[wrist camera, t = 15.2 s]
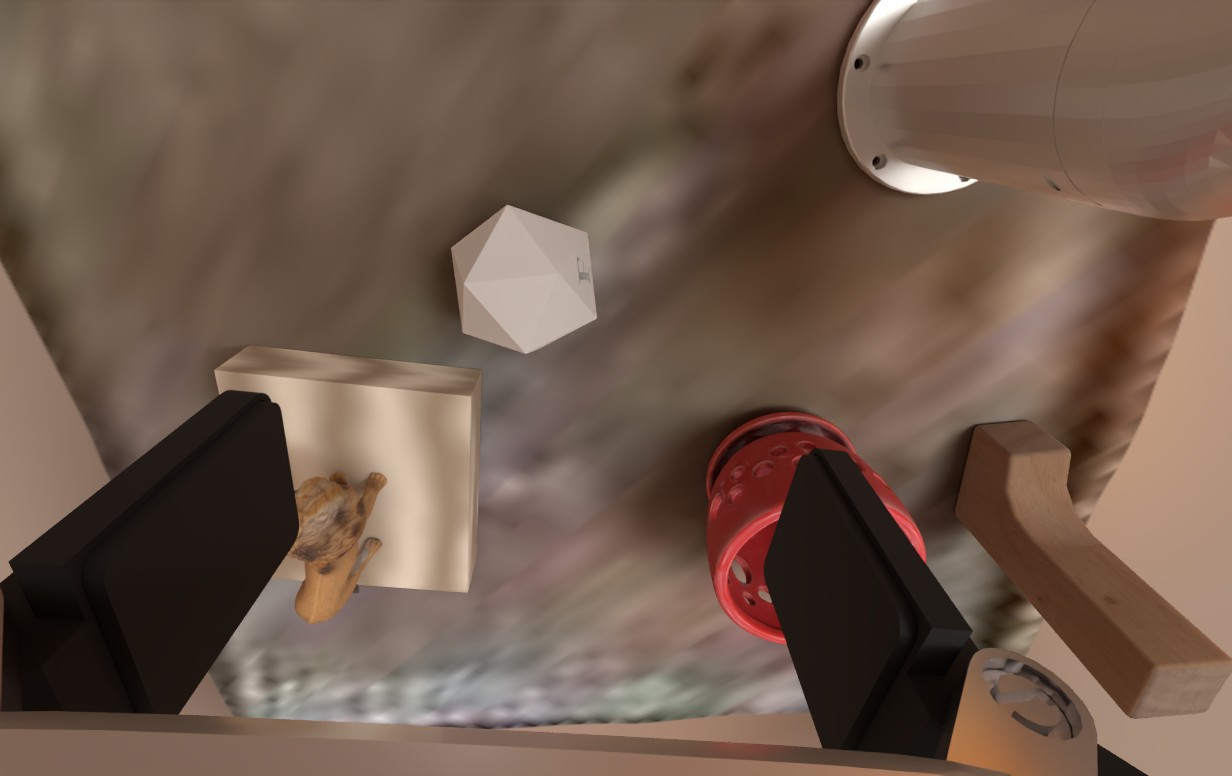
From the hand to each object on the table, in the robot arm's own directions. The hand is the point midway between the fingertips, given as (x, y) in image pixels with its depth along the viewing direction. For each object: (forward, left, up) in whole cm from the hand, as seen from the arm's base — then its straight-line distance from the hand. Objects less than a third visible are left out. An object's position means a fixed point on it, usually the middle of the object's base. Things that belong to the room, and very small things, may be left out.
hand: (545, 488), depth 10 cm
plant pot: (-17, +18, -28) cm, 38 cm away
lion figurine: (+14, +22, -24) cm, 36 cm away
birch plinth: (+14, +21, -28) cm, 38 cm away
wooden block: (-35, +16, -28) cm, 48 cm away
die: (+3, +4, -28) cm, 29 cm away
